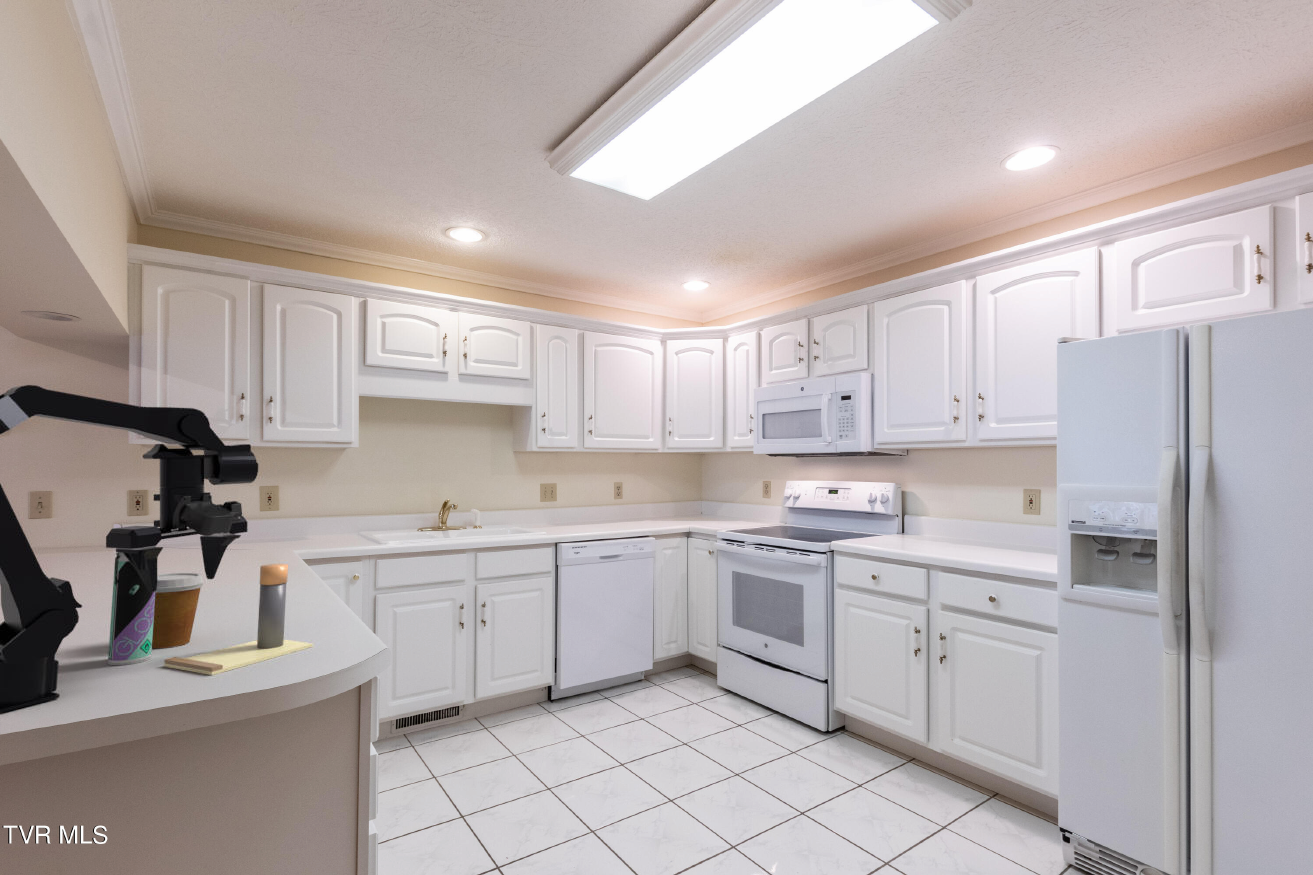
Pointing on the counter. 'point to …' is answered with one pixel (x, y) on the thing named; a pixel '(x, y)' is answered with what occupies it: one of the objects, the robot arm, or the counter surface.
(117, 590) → the spray can
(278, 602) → the ball
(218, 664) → the legal pad
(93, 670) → the counter surface
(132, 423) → the robot arm
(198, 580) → the disposable coffee cup
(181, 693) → the counter surface
